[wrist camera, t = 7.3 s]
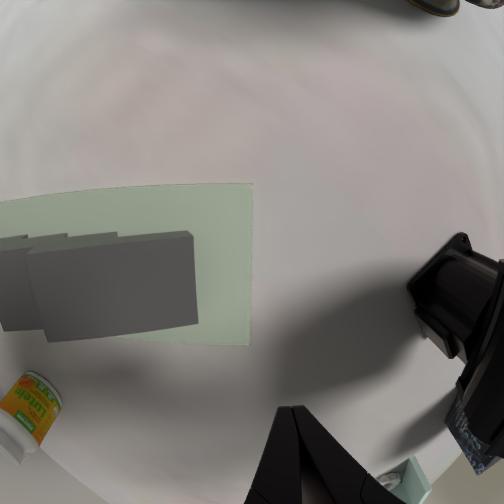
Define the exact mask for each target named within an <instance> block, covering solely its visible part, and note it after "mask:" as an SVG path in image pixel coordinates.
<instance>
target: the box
mask: <svg viewBox="0 0 504 504" xmlns="http://www.w3.org/2000/svg"><path fill="white" fill-rule="evenodd" d="M444 423H445V424H446V426H447V427H448V429H449V430H450V432H451V433H452V435H453V436H454V438H455V440H456V441H457V443H458V444H459V446H460V447H461V449H462V451H463V452H464V454H465V455H466V457H467V459H468V460H469V462H470V463H471V465H472V467H473V469H474V470H475V472H476V474H477V475H479V474H481V473H482V472H484V471H485V470H487V469H488V468H489V467H491V466H492V465H494V464H495V463H496V462H498V461H499V460H500V459H502V458H501V457H498V456H487V455H485V454H484V451H485V450H486V449H487V447H488V445H486V444H484V443H481V442H480V441H479V440H477V439H476V438H475V437H474V436H473V435H472V434H471V433H470V432H469V430H468V429H467V423H468V420H467V418H466V415H465V413H464V411H463V404H462V401H461V398H460V395H459V394H458V396H457V398H456V400H455V402H454V405H453V407H452V409H451V410H450V412H449V414H448V416H447V418H446V420H445V422H444Z"/></svg>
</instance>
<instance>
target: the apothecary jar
mask: <svg viewBox="0 0 504 504" xmlns="http://www.w3.org/2000/svg"><path fill="white" fill-rule="evenodd" d="M408 1H410V2H411V3H413V4H415V5H416V6H418V7H420V8H422V9H424V10H426V11H428V12H430V13H433V14H436V15H439V16H446V17H449V16H453V15H455V14H456V13H457V12H458V10H459V6H460V2H459V0H408ZM465 1H467V2H469V3H472V4H474V5H477V6H479V7H483V8H487V9H495V8H499V7H501V6H503V5H504V0H465Z"/></svg>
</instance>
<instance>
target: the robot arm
mask: <svg viewBox="0 0 504 504" xmlns="http://www.w3.org/2000/svg"><path fill="white" fill-rule="evenodd" d="M462 239H463V240H462ZM414 286H415V288H414V289H413V287H414ZM407 290H408V292H409V294H410V296H411V299H412V301H413V303H414V305H415V307H416V309H415V311H414V314H415V316H416V318H417V320H418V322H419V324H420V326H421V329H422V331H423V332H424V334H425V335H426V336H427V337H428V338H429V339H430V340H431V341H432V342H433V343H434V344H435V345H436V346H437V347H438V348H439V349H440V350H441V351H442V352H443V353H444V354H445V355H446V356H447V357H448V358H449V359H453V358H454V357H455V356H456V355H457V356H458V357H459V358H460V359H461V360H462V361H463V362H464V363H465V364H466V365H465V368H464V370H463V372H462V374H461V376H459V378H458V380H457V382H456V387H457V390H458V393H459V395H460V398H461V401H462V404H463V411H464V413H465V415H466V418H467V420H468V423H467V429H468V430H469V432H470V433H471V434H472V435H473V436H474V437H475V438H476V439H477V440H479V441H480V442H481V443H484V444H486V445H488V447H487V449H486V450H485V451H484V454H485V455H487V456H498V457H501V458H504V259H499V262H497V261H495V260H493V259H490V258H488V257H486V256H484V255H482V254H480V253H477V252H475V251H473V250H472V247H471V244H470V241H469V238H468V235H467V234H466V233H463V232H460V233H459V234H458V235H457V236H456V237H455V238H454V239H453V240H452V241H451V243H450V244H449V245H448V246H447V247H446V248H445V249H444V250H443V251H442V252H441V253H440V254H439V255H438V256H437V257H436V258H435V259H434V260H433V261H431V262H430V263H429V264H428V265H427V266H426V267H425V268H424V269H423V270H422V271H421V272H420V273H419V274H418V275H417V276H415V277H414V278H413V279H412V280H411V281H410V282H409V283H408V286H407ZM244 504H407V503H405V502H404V501H402V500H401V499H399V498H398V497H397V496H395V495H394V494H392V493H391V492H390V491H388V490H387V489H386V488H385V487H383V486H382V485H381V484H380V483H379V482H378V481H377V480H376V479H375V478H373V477H372V476H371V475H370V474H369V473H367V471H366V470H365V469H364V468H363V467H362V466H361V465H360V464H359V463H358V462H357V461H356V460H355V459H354V458H353V457H352V456H351V455H350V454H349V453H348V452H347V451H346V450H345V449H344V448H343V447H342V446H341V445H340V444H339V443H338V442H337V441H336V439H335V438H334V437H333V436H332V435H331V434H330V433H329V432H328V431H327V430H326V429H325V428H324V427H323V426H322V425H321V424H320V422H319V421H318V420H317V419H316V418H315V417H314V416H313V415H312V414H311V413H310V412H309V410H308V409H307V408H306V407H305V406H303V405H299V406H292V407H290V406H280V407H278V408H277V411H276V414H275V417H274V421H273V424H272V427H271V430H270V433H269V436H268V439H267V442H266V445H265V448H264V451H263V454H262V457H261V460H260V463H259V466H258V468H257V471H256V474H255V477H254V479H253V482H252V485H251V489H250V490H249V492H248V495H247V497H246V500H245V502H244Z"/></svg>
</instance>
